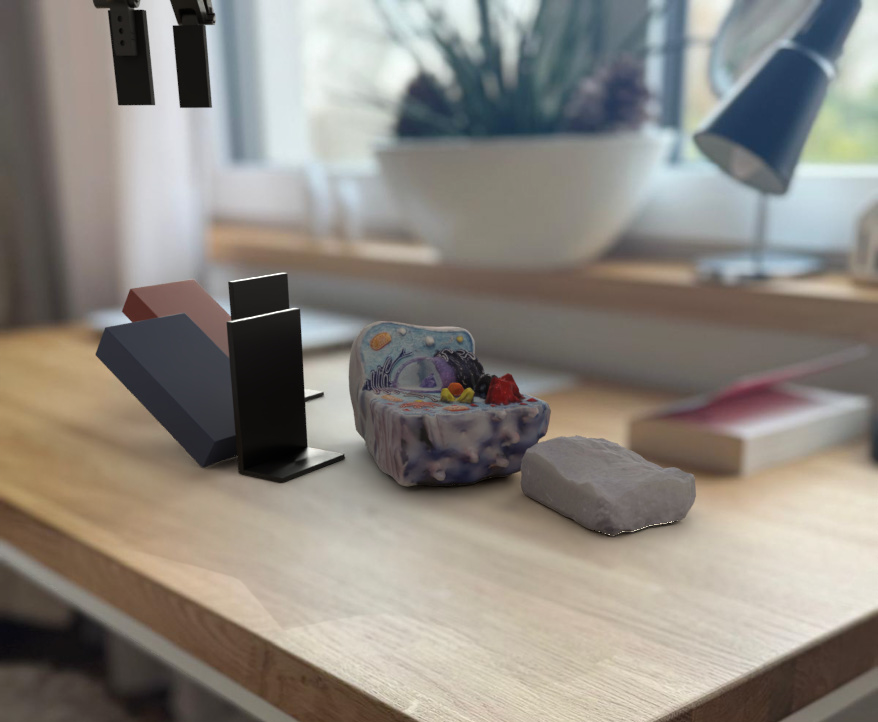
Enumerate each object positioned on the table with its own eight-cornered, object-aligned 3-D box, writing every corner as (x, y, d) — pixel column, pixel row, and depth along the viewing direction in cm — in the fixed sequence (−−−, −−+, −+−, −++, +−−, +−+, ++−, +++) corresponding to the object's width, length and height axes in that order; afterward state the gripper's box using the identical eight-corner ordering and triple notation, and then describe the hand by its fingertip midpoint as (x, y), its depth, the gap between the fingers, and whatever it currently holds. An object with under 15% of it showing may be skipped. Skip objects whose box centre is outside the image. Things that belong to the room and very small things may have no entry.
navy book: (94, 354, 91) (104, 327, 89) (173, 338, 98) (184, 312, 96) (202, 468, 88) (215, 442, 86) (275, 443, 95) (289, 418, 93)
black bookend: (237, 405, 108) (227, 281, 103) (290, 390, 114) (283, 272, 109) (272, 411, 105) (264, 285, 101) (324, 395, 111) (318, 275, 107)
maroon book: (121, 311, 112) (129, 288, 110) (184, 300, 119) (193, 278, 117) (208, 402, 109) (218, 379, 107) (268, 385, 116) (279, 364, 114)
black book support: (238, 473, 87) (225, 321, 82) (302, 450, 93) (294, 307, 88) (281, 483, 84) (271, 327, 79) (345, 458, 90) (339, 312, 86)
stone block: (610, 495, 86) (504, 489, 81) (624, 437, 85) (518, 427, 80) (707, 548, 77) (594, 544, 72) (725, 483, 75) (612, 475, 70)
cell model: (449, 305, 96) (572, 348, 79) (448, 423, 100) (564, 488, 84) (311, 315, 90) (412, 364, 74) (315, 440, 95) (412, 512, 78)
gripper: (120, -258, 69) (156, 103, 78) (237, -164, 92) (255, 108, 101) (11, -252, 70) (57, 104, 79) (153, -160, 93) (177, 108, 101)
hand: (168, 107), depth 90 cm, fingers open, 13 cm apart
